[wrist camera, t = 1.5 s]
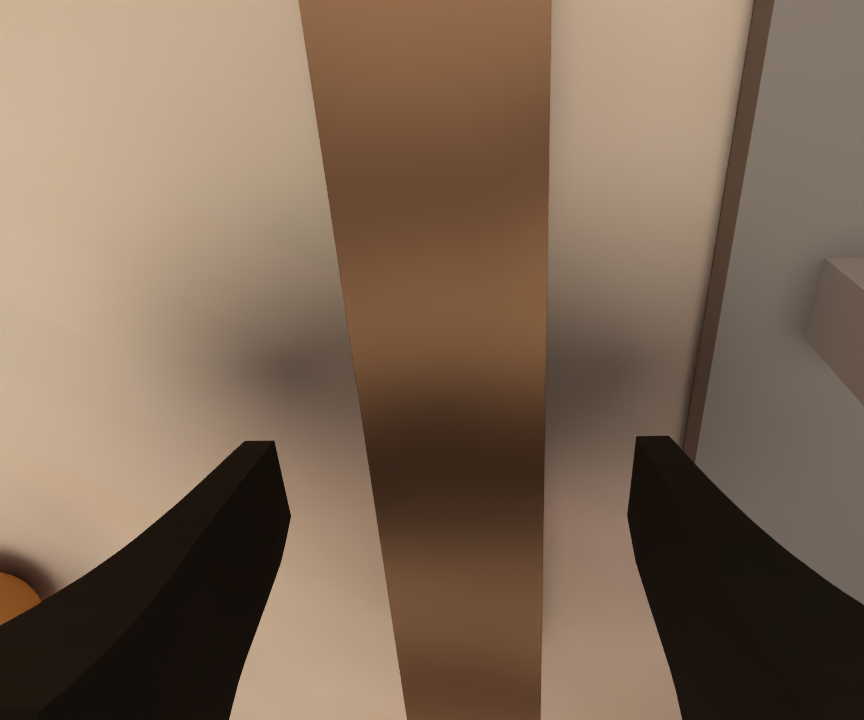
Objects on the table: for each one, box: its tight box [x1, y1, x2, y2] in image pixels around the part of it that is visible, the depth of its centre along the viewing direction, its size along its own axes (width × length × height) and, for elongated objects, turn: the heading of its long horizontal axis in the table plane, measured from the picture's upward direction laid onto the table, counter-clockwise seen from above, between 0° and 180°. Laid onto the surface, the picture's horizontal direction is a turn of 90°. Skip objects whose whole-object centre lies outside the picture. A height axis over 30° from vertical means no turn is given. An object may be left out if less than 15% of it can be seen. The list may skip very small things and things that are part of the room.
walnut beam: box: [299, 0, 551, 720], centre depth 16 cm, size 22×4×5 cm, turn 4°
